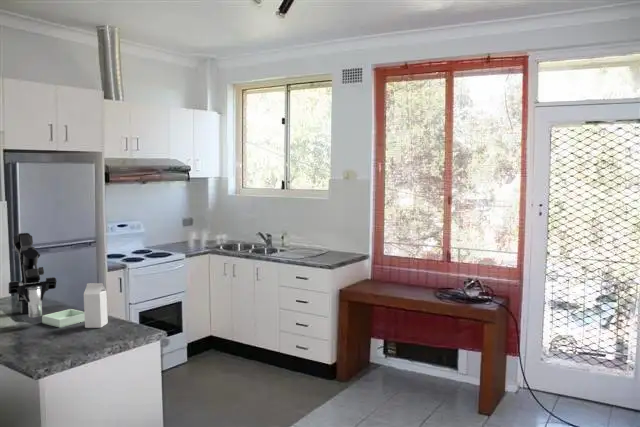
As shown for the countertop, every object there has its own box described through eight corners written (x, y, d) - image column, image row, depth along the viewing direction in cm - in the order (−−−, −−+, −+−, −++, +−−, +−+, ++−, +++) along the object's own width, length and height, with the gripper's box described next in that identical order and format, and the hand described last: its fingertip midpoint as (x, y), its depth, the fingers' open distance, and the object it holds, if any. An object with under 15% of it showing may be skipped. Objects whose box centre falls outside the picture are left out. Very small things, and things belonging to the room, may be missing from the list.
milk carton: (101, 328, 234) (99, 285, 233) (84, 328, 234) (83, 285, 233) (107, 323, 241) (106, 281, 240) (92, 323, 241) (90, 281, 240)
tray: (42, 323, 243) (42, 315, 243) (71, 316, 254) (71, 308, 254) (59, 327, 235) (59, 319, 235) (89, 320, 247) (88, 312, 247)
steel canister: (28, 315, 239) (27, 286, 238) (42, 313, 241) (40, 285, 240) (28, 318, 234) (26, 288, 233) (42, 316, 236) (40, 287, 235)
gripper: (7, 263, 233) (11, 293, 225) (54, 259, 244) (60, 287, 236) (6, 278, 241) (10, 308, 232) (52, 274, 251) (57, 301, 243)
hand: (35, 300), depth 236 cm, fingers closed on steel canister, 5 cm apart
